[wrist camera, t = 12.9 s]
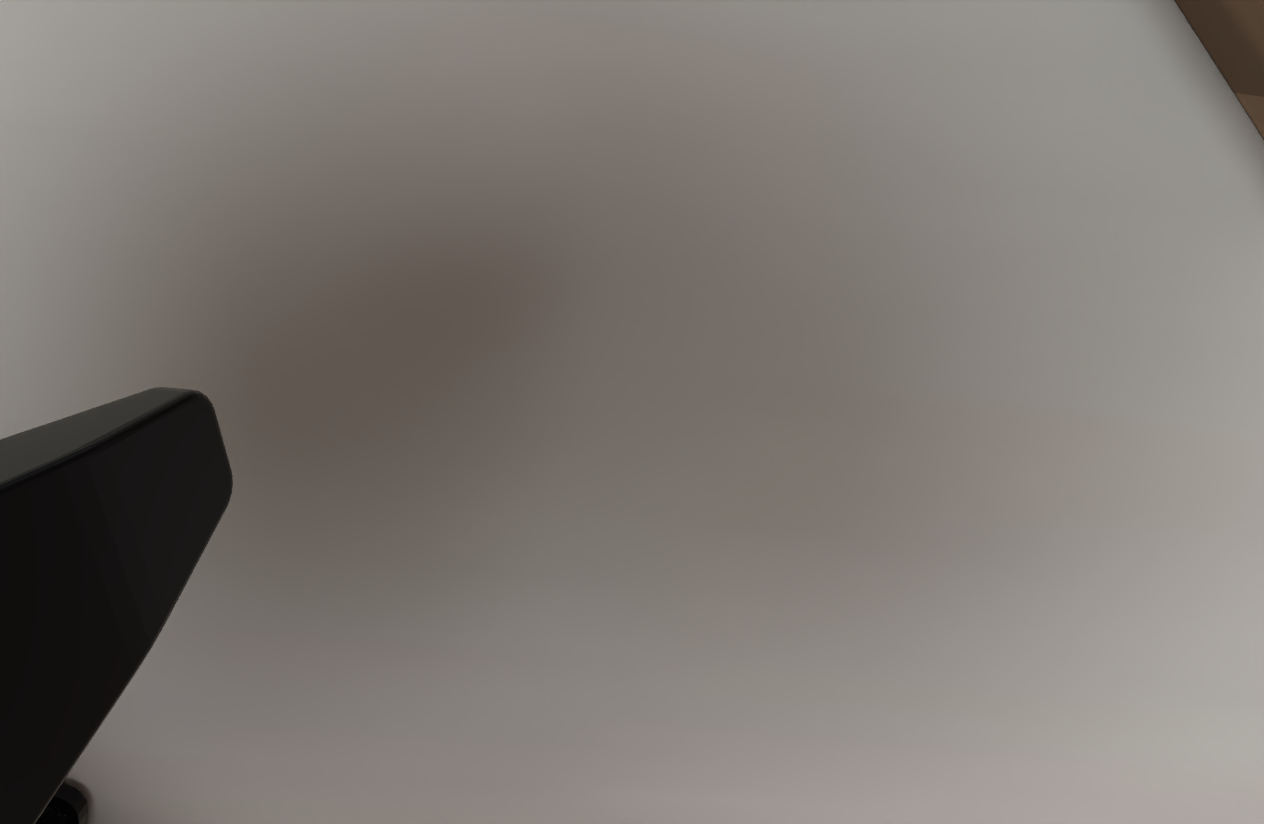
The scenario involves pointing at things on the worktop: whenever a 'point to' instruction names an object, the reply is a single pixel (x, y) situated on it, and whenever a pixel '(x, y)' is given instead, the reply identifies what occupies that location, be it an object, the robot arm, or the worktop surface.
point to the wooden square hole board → (1234, 46)
